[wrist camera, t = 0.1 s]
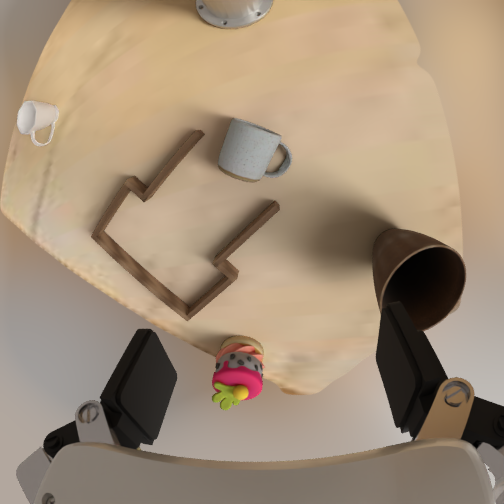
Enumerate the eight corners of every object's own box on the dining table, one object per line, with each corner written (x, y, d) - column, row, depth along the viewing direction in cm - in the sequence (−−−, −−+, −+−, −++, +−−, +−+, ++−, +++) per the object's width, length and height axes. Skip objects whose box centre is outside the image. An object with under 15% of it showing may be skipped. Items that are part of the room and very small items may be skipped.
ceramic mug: (219, 164, 44) (209, 171, 37) (236, 117, 40) (229, 116, 33) (280, 186, 45) (282, 198, 38) (299, 141, 41) (305, 144, 34)
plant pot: (343, 275, 51) (364, 330, 36) (366, 200, 44) (404, 235, 30) (406, 285, 51) (439, 336, 36) (432, 218, 44) (480, 256, 30)
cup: (61, 93, 38) (35, 93, 31) (67, 137, 42) (41, 142, 35) (40, 106, 39) (14, 108, 32) (46, 148, 43) (20, 154, 36)
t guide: (98, 231, 51) (90, 236, 48) (183, 115, 40) (177, 114, 38) (190, 312, 57) (187, 321, 55) (295, 221, 47) (296, 227, 44)
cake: (237, 326, 58) (227, 381, 44) (274, 349, 60) (273, 403, 47) (210, 351, 62) (197, 402, 49) (246, 371, 64) (240, 421, 51)
